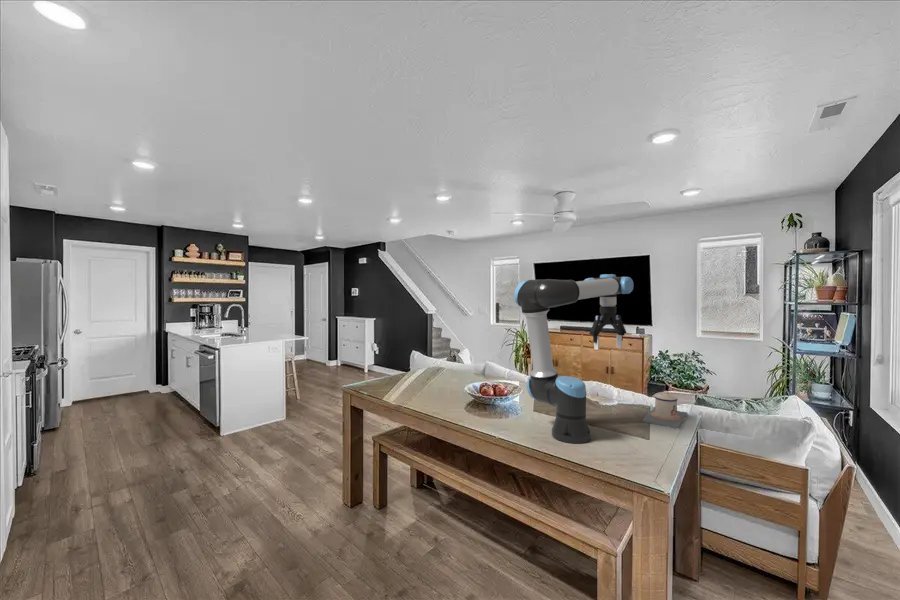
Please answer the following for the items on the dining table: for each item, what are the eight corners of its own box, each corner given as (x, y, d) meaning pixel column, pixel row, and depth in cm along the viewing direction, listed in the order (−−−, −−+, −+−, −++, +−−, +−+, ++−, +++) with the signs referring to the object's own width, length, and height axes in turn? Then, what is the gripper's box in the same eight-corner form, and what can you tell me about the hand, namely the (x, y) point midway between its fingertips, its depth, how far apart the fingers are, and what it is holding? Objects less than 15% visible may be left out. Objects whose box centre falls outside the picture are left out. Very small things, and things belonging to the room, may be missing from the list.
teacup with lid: (675, 421, 169) (675, 394, 169) (652, 416, 175) (652, 391, 174) (679, 414, 178) (680, 389, 178) (658, 410, 184) (658, 386, 184)
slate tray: (678, 428, 162) (678, 426, 162) (642, 421, 171) (642, 419, 171) (687, 414, 181) (687, 412, 181) (654, 409, 190) (654, 406, 190)
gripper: (622, 305, 194) (622, 346, 195) (581, 305, 186) (581, 349, 187) (634, 305, 187) (634, 348, 188) (592, 306, 179) (592, 351, 180)
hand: (608, 348), depth 187 cm, fingers open, 13 cm apart
